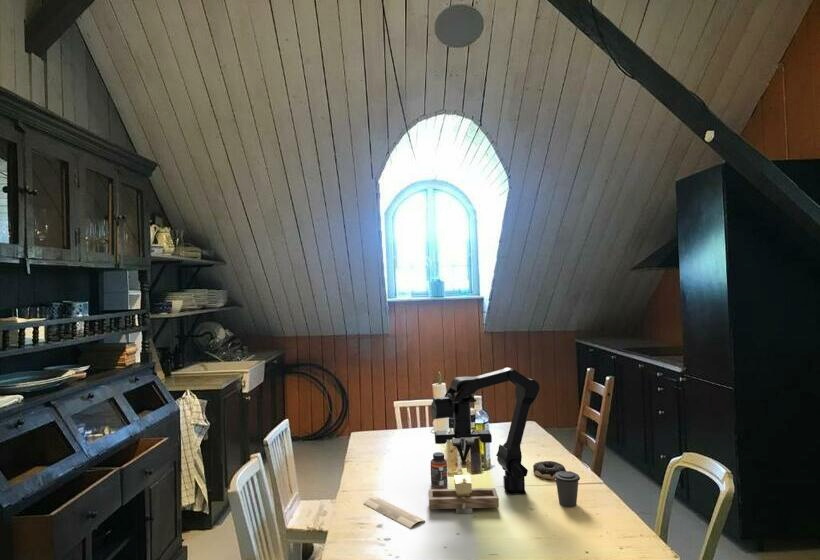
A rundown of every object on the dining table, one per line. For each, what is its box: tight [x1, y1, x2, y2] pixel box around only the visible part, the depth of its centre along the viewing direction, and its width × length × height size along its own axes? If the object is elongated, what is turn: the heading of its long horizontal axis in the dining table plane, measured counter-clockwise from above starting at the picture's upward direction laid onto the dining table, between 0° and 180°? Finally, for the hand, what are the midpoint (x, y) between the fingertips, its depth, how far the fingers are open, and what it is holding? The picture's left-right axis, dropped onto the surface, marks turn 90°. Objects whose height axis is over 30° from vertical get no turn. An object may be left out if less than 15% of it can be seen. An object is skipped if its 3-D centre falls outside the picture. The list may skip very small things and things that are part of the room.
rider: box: [454, 474, 473, 497], centre depth 164 cm, size 5×7×6 cm
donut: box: [532, 460, 567, 480], centre depth 189 cm, size 11×12×4 cm
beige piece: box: [363, 496, 426, 529], centre depth 162 cm, size 24×7×2 cm, turn 42°
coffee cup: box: [554, 470, 581, 509], centre depth 164 cm, size 8×8×10 cm
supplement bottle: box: [430, 451, 448, 489], centre depth 182 cm, size 6×6×11 cm
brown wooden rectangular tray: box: [428, 487, 500, 515], centre depth 164 cm, size 22×9×5 cm, turn 89°
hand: (463, 462), depth 170 cm, fingers closed
